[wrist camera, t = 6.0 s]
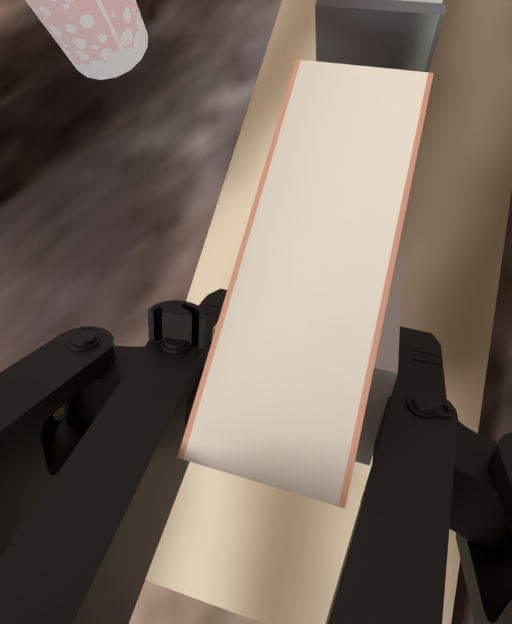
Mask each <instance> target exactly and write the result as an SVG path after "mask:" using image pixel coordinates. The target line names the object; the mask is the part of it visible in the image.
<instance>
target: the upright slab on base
mask: <svg viewBox="0 0 512 624" xmlns="http://www.w3.org/2000/svg"><path fill="white" fill-rule="evenodd" d="M296 59H298V60H308V61H318V62H328V63H338V64H348V65H358V66H368V67H378V68H389V69H399V70H409V71H419V72H429V73H434V74H433V79H432V84H431V89H430V94H429V99H428V104H427V109H426V114H425V119H424V124H423V129H422V133H421V138H420V143H419V148H418V153H417V158H416V163H415V168H414V173H413V178H412V183H411V188H410V192H409V197H408V202H407V207H406V212H405V217H404V222H403V227H402V232H401V237H400V242H399V247H398V251H397V256H396V257H398V258H403V265H402V288H401V310H400V326H401V327H406V328H411V329H415V330H420V331H424V332H429V333H432V334H433V335H434V336H435V338H436V339H437V340H438V342H439V343H440V344H441V349H442V359H443V368H444V377H445V387H446V396H447V400H449V401H450V402H451V404H452V405H453V406H454V407H455V409H456V411H457V415H458V420H459V422H461V423H462V424H463V425H465V426H466V427H467V428H469V429H471V430H473V431H474V432H476V433H478V428H479V421H480V414H481V407H482V400H483V393H484V385H485V378H486V371H487V364H488V357H489V350H490V343H491V335H492V328H493V321H494V314H495V307H496V300H497V293H498V285H499V278H500V271H501V264H502V257H503V250H504V242H505V235H506V228H507V221H508V214H509V207H510V200H511V192H512V0H282V4H281V7H280V10H279V13H278V16H277V19H276V22H275V25H274V29H273V32H272V35H271V38H270V41H269V44H268V47H267V50H266V54H265V57H264V60H263V63H262V66H261V69H260V72H259V75H258V78H257V82H256V85H255V88H254V91H253V94H252V97H251V100H250V103H249V107H248V110H247V113H246V116H245V119H244V122H243V125H242V128H241V132H240V135H239V138H238V141H237V144H236V147H235V150H234V153H233V157H232V160H231V163H230V166H229V169H228V172H227V175H226V178H225V181H224V185H223V188H222V191H221V194H220V197H219V200H218V203H217V206H216V210H215V213H214V216H213V219H212V222H211V225H210V228H209V231H208V235H207V238H206V241H205V244H204V247H203V250H202V253H201V256H200V260H199V263H198V266H197V269H196V272H195V275H194V278H193V281H192V284H191V288H190V291H189V294H188V297H187V300H186V301H187V302H191V303H194V304H196V305H199V304H200V303H201V302H202V300H203V299H204V298H205V297H206V296H207V295H208V294H210V293H212V292H214V291H216V290H219V289H225V290H228V286H229V283H230V280H231V276H232V273H233V269H234V266H235V263H236V259H237V256H238V253H239V249H240V246H241V243H242V239H243V236H244V233H245V229H246V226H247V223H248V219H249V216H250V213H251V209H252V206H253V202H254V199H255V196H256V192H257V189H258V186H259V182H260V179H261V176H262V172H263V169H264V166H265V162H266V159H267V156H268V152H269V149H270V145H271V142H272V139H273V135H274V132H275V129H276V125H277V122H278V119H279V115H280V112H281V109H282V105H283V102H284V99H285V95H286V92H287V88H288V85H289V82H290V78H291V75H292V72H293V68H294V65H295V62H296ZM372 460H373V456H372ZM372 460H371V463H370V466H369V465H366V464H362V463H359V462H355V463H354V468H353V473H352V478H351V483H350V488H349V493H348V497H347V502H346V507H345V509H344V508H341V507H338V506H335V505H331V504H328V503H325V502H321V501H318V500H315V499H311V498H308V497H305V496H302V495H298V494H295V493H292V492H288V491H285V490H282V489H278V488H275V487H272V486H269V485H265V484H262V483H259V482H255V481H252V480H249V479H245V478H242V477H239V476H236V475H232V474H229V473H226V472H222V471H219V470H216V469H212V468H209V467H206V466H202V465H199V464H196V463H193V462H189V465H188V468H187V470H186V473H185V476H184V478H183V481H182V483H181V486H180V489H179V491H178V494H177V497H176V499H175V502H174V505H173V507H172V510H171V513H170V515H169V518H168V521H167V523H166V526H165V528H164V531H163V534H162V536H161V539H160V542H159V544H158V547H157V550H156V552H155V555H154V558H153V560H152V563H151V565H150V568H149V571H148V573H147V576H146V579H145V580H147V581H150V582H152V583H155V584H158V585H160V586H163V587H166V588H169V589H171V590H174V591H177V592H179V593H182V594H185V595H188V596H190V597H193V598H196V599H198V600H201V601H204V602H206V603H209V604H212V605H215V606H217V607H220V608H223V609H225V610H228V611H231V612H234V613H236V614H239V615H242V616H244V617H247V618H250V619H252V620H255V621H258V622H261V623H263V624H326V620H327V617H328V613H329V610H330V606H331V603H332V599H333V596H334V593H335V589H336V586H337V582H338V579H339V575H340V572H341V568H342V565H343V562H344V558H345V555H346V551H347V548H348V544H349V541H350V537H351V534H352V530H353V527H354V524H355V520H356V517H357V513H358V510H359V506H360V502H361V498H362V495H363V492H364V489H365V485H366V482H367V479H368V476H369V472H370V469H371V466H372ZM459 564H460V555H459V550H458V546H457V541H456V532H454V531H452V530H450V529H449V542H448V555H447V568H446V581H445V594H444V607H443V620H442V624H451V621H452V614H453V607H454V600H455V593H456V586H457V578H458V571H459Z"/></svg>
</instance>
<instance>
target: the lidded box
mask: <svg viewBox="0 0 512 624" xmlns="http://www.w3.org/2000/svg"><path fill="white" fill-rule="evenodd" d="M433 74H434V73H429V72H419V71H409V70H399V69H389V68H378V67H368V66H358V65H348V64H338V63H328V62H318V61H308V60H298V59H296V62H295V65H294V68H293V72H292V75H291V78H290V82H289V85H288V88H287V92H286V95H285V99H284V102H283V105H282V109H281V112H280V115H279V119H278V122H277V125H276V129H275V132H274V135H273V139H272V142H271V145H270V149H269V152H268V156H267V159H266V162H265V166H264V169H263V172H262V176H261V179H260V182H259V186H258V189H257V192H256V196H255V199H254V202H253V206H252V209H251V213H250V216H249V219H248V223H247V226H246V229H245V233H244V236H243V239H242V243H241V246H240V249H239V253H238V256H237V259H236V263H235V266H234V269H233V273H232V276H231V280H230V283H229V286H228V290H227V293H226V296H225V300H224V303H223V306H222V310H221V313H220V316H219V320H218V323H217V326H216V330H215V333H214V337H213V340H212V343H211V347H210V350H209V353H208V357H207V360H206V363H205V367H204V370H203V373H202V377H201V380H200V383H199V387H198V390H197V394H196V397H195V400H194V404H193V407H192V410H191V414H190V417H189V420H188V424H187V427H186V430H185V434H184V437H183V440H182V444H181V447H180V450H179V454H178V457H177V458H179V459H183V460H186V461H189V462H193V463H196V464H199V465H202V466H206V467H209V468H212V469H216V470H219V471H222V472H226V473H229V474H232V475H236V476H239V477H242V478H245V479H249V480H252V481H255V482H259V483H262V484H265V485H269V486H272V487H275V488H278V489H282V490H285V491H288V492H292V493H295V494H298V495H302V496H305V497H308V498H311V499H315V500H318V501H321V502H325V503H328V504H331V505H335V506H338V507H341V508H344V509H345V507H346V502H347V497H348V493H349V488H350V483H351V478H352V473H353V468H354V463H355V458H356V453H357V448H358V443H359V438H360V434H361V429H362V424H363V419H364V414H365V409H366V404H367V399H368V394H369V389H370V384H371V379H372V374H373V370H374V365H375V360H376V355H377V350H378V345H379V340H380V335H381V330H382V325H383V320H384V315H385V311H386V306H387V301H388V296H389V291H390V286H391V281H392V276H393V271H394V266H395V261H396V256H397V251H398V247H399V242H400V237H401V232H402V227H403V222H404V217H405V212H406V207H407V202H408V197H409V192H410V188H411V183H412V178H413V173H414V168H415V163H416V158H417V153H418V148H419V143H420V138H421V133H422V129H423V124H424V119H425V114H426V109H427V104H428V99H429V94H430V89H431V84H432V79H433Z"/></svg>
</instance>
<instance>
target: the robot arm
mask: <svg viewBox="0 0 512 624" xmlns="http://www.w3.org/2000/svg"><path fill="white" fill-rule="evenodd" d="M402 265H403V258H398V257H396V261H395V266H394V271H393V276H392V281H391V286H390V291H389V296H388V301H387V306H386V311H385V315H384V320H383V325H382V330H381V335H380V340H379V345H378V350H377V355H376V360H375V365H374V370H373V374H372V379H371V384H370V389H369V394H368V399H367V404H366V409H365V414H364V419H363V424H362V429H361V434H360V438H359V443H358V448H357V453H356V458H355V462H359V463H362V464H366V465H369V466H370V463H371V460H372V456H373V460H372V466H371V469H370V472H369V476H368V479H367V482H366V485H365V489H364V492H363V495H362V498H361V502H360V506H359V510H358V513H357V517H356V520H355V524H354V527H353V530H352V534H351V537H350V541H349V544H348V548H347V551H346V555H345V558H344V562H343V565H342V568H341V572H340V575H339V579H338V582H337V586H336V589H335V593H334V596H333V599H332V603H331V606H330V610H329V613H328V617H327V620H326V624H442V620H443V607H444V594H445V581H446V568H447V555H448V542H449V529H450V530H452V531H454V532H456V541H457V546H458V550H459V555H460V559H461V564H462V569H463V573H464V578H465V582H466V587H467V591H468V596H469V601H470V605H471V610H472V614H473V619H474V624H512V433H509V434H506V435H503V436H502V437H501V439H500V440H499V442H498V443H497V442H495V441H493V440H491V439H488V438H486V437H484V436H482V435H480V434H478V433H476V432H474V431H473V430H471V429H469V428H467V427H466V426H465V425H463V424H462V423H461V422H459V420H458V415H457V411H456V409H455V407H454V406H453V405H452V404H451V402H450V401H449V400H447V396H446V387H445V377H444V368H443V359H442V349H441V344H440V343H439V342H438V340H437V339H436V338H435V336H434V335H433V334H432V333H429V332H424V331H420V330H415V329H411V328H406V327H401V326H400V310H401V288H402ZM226 293H227V290H225V289H219V290H216V291H214V292H212V293H210V294H208V295H207V296H206V297H205V298H204V299H203V300H202V302H201V303H200V304H199V305H196V304H194V303H191V302H187V301H177V300H172V301H165V302H161V303H158V304H156V305H153V306H152V307H151V308H150V309H148V325H149V341H148V343H147V344H146V346H145V347H126V346H115V345H114V337H113V336H112V334H111V333H110V332H109V331H107V330H105V329H103V328H98V327H80V328H75V329H71V330H69V331H67V332H64V333H62V334H60V335H59V336H57V337H56V338H54V339H53V340H51V341H49V342H48V343H46V344H45V345H43V346H42V347H40V348H38V349H37V350H35V351H34V352H32V353H30V354H29V355H27V356H26V357H24V358H23V359H21V360H19V361H18V362H16V363H15V364H13V365H12V366H10V367H8V368H7V369H5V370H4V371H2V372H0V552H1V551H2V550H3V549H4V548H5V547H6V546H7V545H8V544H9V543H10V544H9V545H8V546H7V548H6V549H5V551H4V552H3V554H2V555H1V557H0V624H129V621H130V618H131V616H132V613H133V610H134V608H135V605H136V602H137V600H138V597H139V595H140V592H141V589H142V587H143V584H144V581H145V579H146V576H147V573H148V571H149V568H150V565H151V563H152V560H153V558H154V555H155V552H156V550H157V547H158V544H159V542H160V539H161V536H162V534H163V531H164V528H165V526H166V523H167V521H168V518H169V515H170V513H171V510H172V507H173V505H174V502H175V499H176V497H177V494H178V491H179V489H180V486H181V483H182V481H183V478H184V476H185V473H186V470H187V468H188V465H189V461H186V460H183V459H179V458H177V457H178V454H179V450H180V447H181V444H182V440H183V437H184V434H185V430H186V427H187V424H188V420H189V417H190V414H191V410H192V407H193V404H194V400H195V397H196V394H197V390H198V387H199V383H200V380H201V377H202V373H203V370H204V367H205V363H206V360H207V357H208V353H209V350H210V347H211V343H212V340H213V337H214V333H215V330H216V326H217V323H218V320H219V316H220V313H221V310H222V306H223V303H224V300H225V296H226ZM61 406H63V409H64V411H63V412H61V413H60V414H59V415H57V416H55V417H53V413H54V412H55V411H56V410H58V409H59V408H60V407H61Z"/></svg>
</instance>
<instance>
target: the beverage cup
mask: <svg viewBox="0 0 512 624" xmlns="http://www.w3.org/2000/svg"><path fill="white" fill-rule="evenodd" d="M26 2H27V3H28V4H29V6H30V7H31V8H32V10H33V11H34V13H35V14H36V15H37V17H38V18H39V19H40V21H41V22H42V23H43V25H44V26H45V27H46V29H47V30H48V31H49V33H50V34H51V35H52V37H53V38H54V39H55V41H56V42H57V43H58V45H59V46H60V47H61V49H62V50H63V52H64V53H65V54H66V56H67V57H68V58H69V60H70V61H71V62H72V64H73V65H74V66H75V68H76V69H77V70H78V71H79V72H81V73H82V74H83V75H85V76H86V77H88V78H93V79H99V80H104V79H110V78H116V77H118V76H120V75H122V74H124V73H126V72H128V71H130V70H131V69H132V68H133V67H134V66H135V65H136V64H137V63H138V62H139V61H140V60H141V59H142V57H143V55H144V53H145V51H146V49H147V47H148V34H147V31H146V28H145V25H144V23H143V20H142V17H141V14H140V11H139V8H138V6H137V3H136V0H26Z"/></svg>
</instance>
